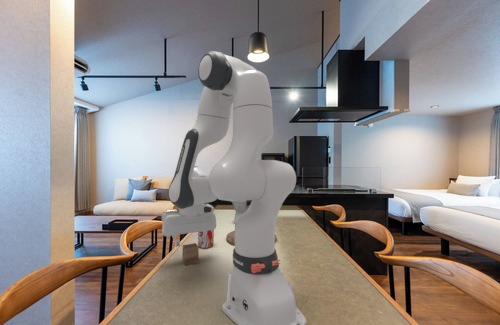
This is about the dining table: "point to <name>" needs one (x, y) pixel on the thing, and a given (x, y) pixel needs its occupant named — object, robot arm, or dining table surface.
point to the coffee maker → (240, 208)
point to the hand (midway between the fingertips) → (190, 243)
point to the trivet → (231, 238)
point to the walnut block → (190, 254)
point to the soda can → (206, 239)
